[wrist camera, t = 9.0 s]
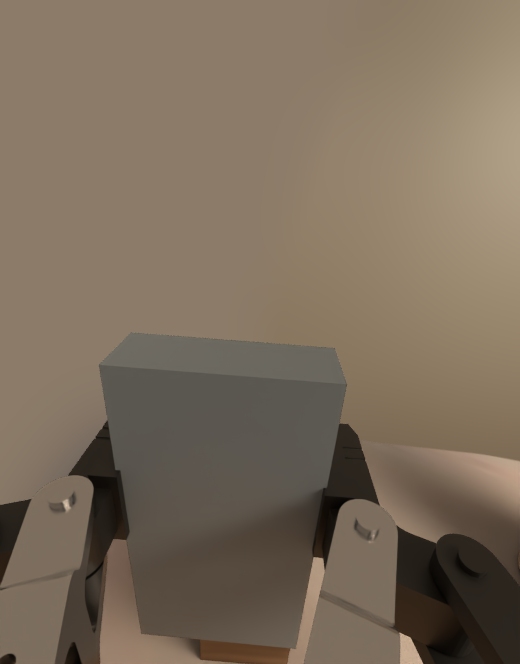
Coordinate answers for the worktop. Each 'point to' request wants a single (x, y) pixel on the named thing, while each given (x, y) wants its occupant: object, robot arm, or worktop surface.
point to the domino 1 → (222, 479)
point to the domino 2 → (242, 653)
